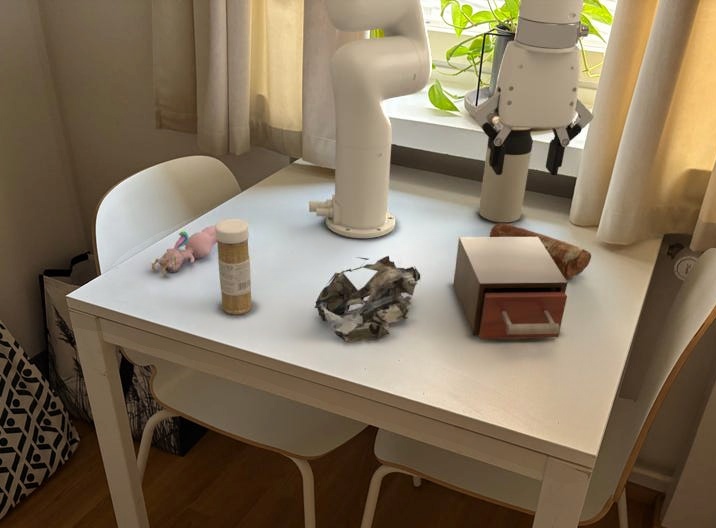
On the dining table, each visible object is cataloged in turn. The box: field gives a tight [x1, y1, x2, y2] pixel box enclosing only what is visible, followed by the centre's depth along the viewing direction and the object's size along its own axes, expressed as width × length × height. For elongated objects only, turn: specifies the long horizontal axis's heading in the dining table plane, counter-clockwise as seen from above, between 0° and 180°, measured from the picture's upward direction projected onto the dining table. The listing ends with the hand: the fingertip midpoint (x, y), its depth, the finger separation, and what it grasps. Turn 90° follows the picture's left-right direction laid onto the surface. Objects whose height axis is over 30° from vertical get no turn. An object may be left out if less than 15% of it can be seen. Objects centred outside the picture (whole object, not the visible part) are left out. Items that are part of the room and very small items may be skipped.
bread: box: [488, 222, 592, 280], centre depth 129 cm, size 6×19×6 cm, turn 41°
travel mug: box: [478, 116, 534, 224], centre depth 141 cm, size 8×8×18 cm
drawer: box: [478, 288, 568, 340], centre depth 110 cm, size 18×11×7 cm, turn 7°
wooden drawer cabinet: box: [452, 236, 568, 337], centre depth 114 cm, size 15×13×9 cm
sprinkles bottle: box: [214, 218, 253, 316], centre depth 109 cm, size 5×5×13 cm
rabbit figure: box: [150, 225, 217, 276], centre depth 123 cm, size 6×6×15 cm
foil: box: [314, 255, 421, 343], centre depth 110 cm, size 12×11×15 cm
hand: (524, 170), depth 105 cm, fingers open, 7 cm apart
